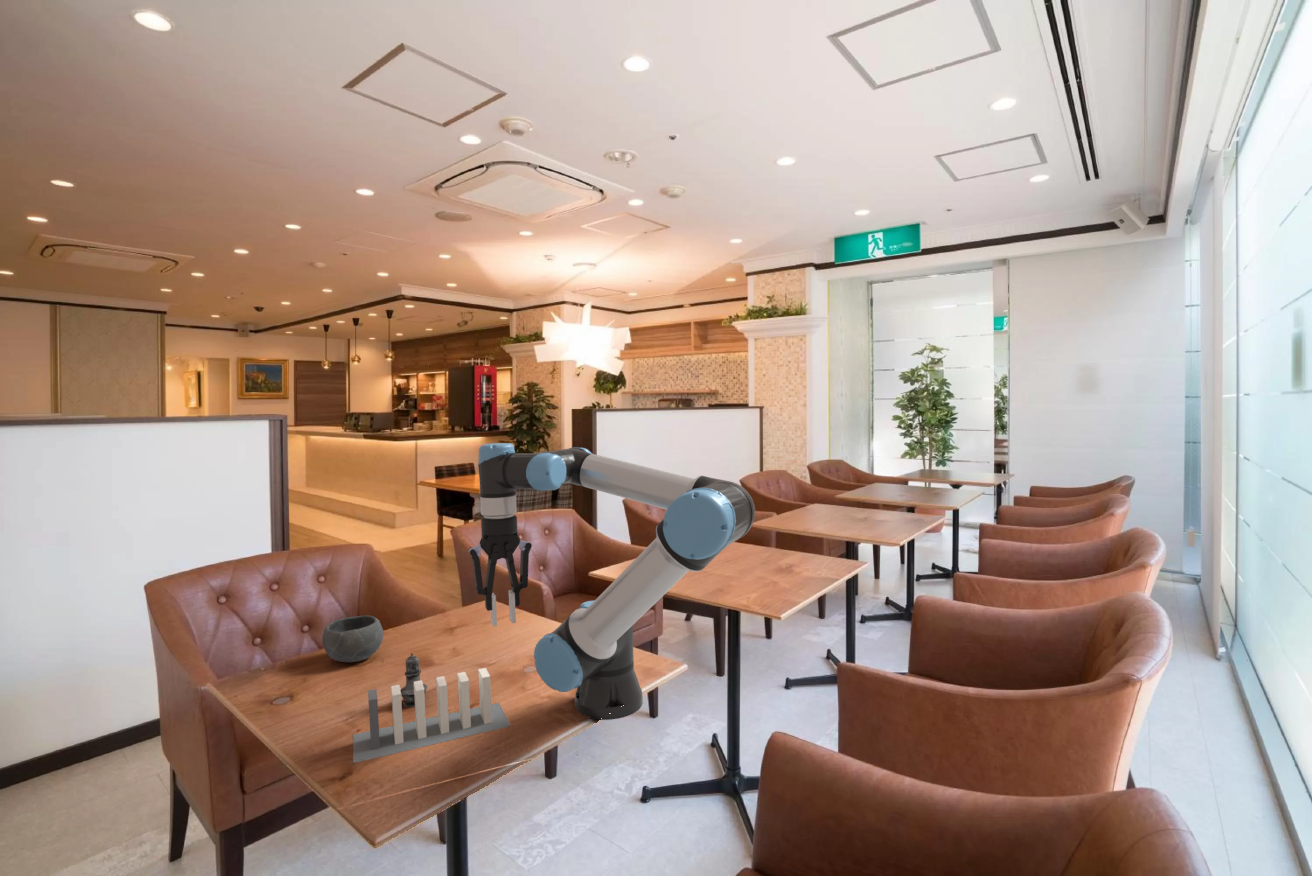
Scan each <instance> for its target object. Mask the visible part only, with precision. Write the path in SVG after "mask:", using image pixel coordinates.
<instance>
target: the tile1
mask: <svg viewBox="0 0 1312 876" xmlns="http://www.w3.org/2000/svg"><path fill="white" fill-rule="evenodd" d="M477 671H478V695H479V696H478V697H479V707H480V715H481V717H482V719H483V722H484V724H487V723H491V722H492V707H491V704H492V690H491V689H492V687H491V685H492V684H491V675H490V673H489V671H488V670H487V667H484V668H478V669H477Z"/></svg>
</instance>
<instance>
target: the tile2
mask: <svg viewBox="0 0 1312 876" xmlns="http://www.w3.org/2000/svg"><path fill="white" fill-rule="evenodd" d="M457 692H458V693H457V694H458V710H459V711H458V712H459V718H460V722H461V724H462V727H463V729H465V728H470V727H471V716H470V709H471V698H470V697H471V696H470V679H469V677H468V675H467V673H466V671H462V672H457Z"/></svg>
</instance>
